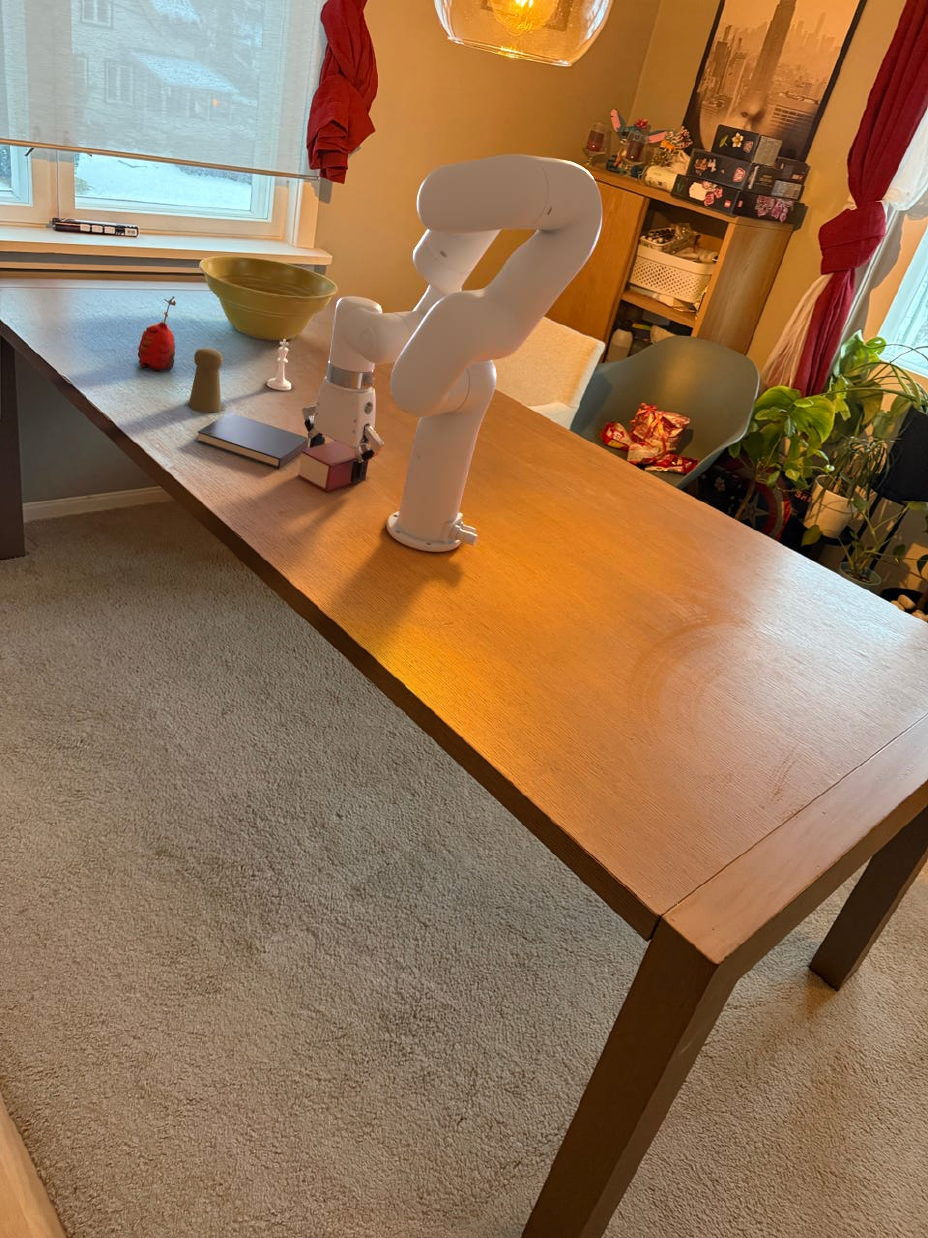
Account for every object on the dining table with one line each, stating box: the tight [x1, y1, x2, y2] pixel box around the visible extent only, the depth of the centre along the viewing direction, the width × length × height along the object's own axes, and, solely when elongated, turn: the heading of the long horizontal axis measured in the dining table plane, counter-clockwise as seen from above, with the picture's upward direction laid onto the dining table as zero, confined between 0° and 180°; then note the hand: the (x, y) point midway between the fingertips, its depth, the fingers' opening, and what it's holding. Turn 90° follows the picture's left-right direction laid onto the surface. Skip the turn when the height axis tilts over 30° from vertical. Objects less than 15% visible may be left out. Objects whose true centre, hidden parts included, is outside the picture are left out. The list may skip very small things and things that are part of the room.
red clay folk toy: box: [137, 296, 177, 372], centre depth 183 cm, size 8×7×15 cm
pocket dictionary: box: [297, 440, 370, 493], centre depth 160 cm, size 7×10×5 cm, turn 146°
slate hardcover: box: [196, 411, 310, 469], centre depth 165 cm, size 16×12×2 cm
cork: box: [188, 347, 224, 413], centre depth 173 cm, size 6×6×11 cm
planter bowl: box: [198, 255, 339, 341], centre depth 218 cm, size 32×32×13 cm
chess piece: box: [266, 339, 292, 391], centre depth 190 cm, size 5×5×10 cm
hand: (335, 469), depth 160 cm, fingers open, 9 cm apart
